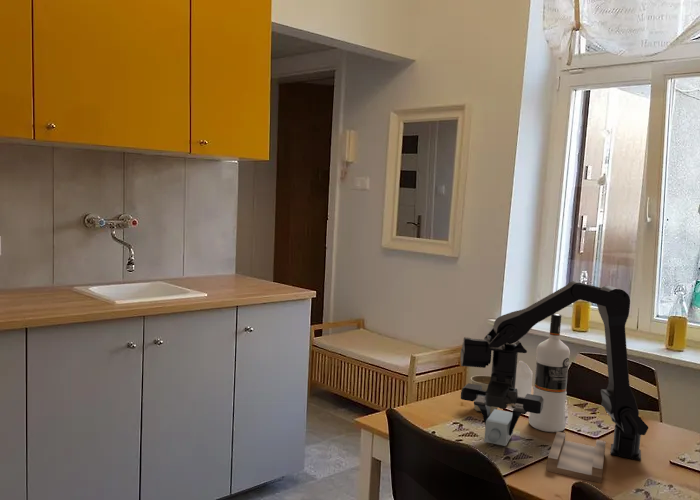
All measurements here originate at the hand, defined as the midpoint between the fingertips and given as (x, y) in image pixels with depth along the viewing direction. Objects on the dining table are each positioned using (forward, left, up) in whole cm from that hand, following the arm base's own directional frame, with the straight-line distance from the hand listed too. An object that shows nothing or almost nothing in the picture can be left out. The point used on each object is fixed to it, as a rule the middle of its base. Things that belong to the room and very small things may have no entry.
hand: (498, 432), depth 148 cm
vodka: (-18, +9, -3) cm, 21 cm away
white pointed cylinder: (-38, -1, -3) cm, 39 cm away
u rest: (+2, +18, -2) cm, 18 cm away
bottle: (+1, 0, -1) cm, 2 cm away
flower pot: (-22, -8, -3) cm, 24 cm away
